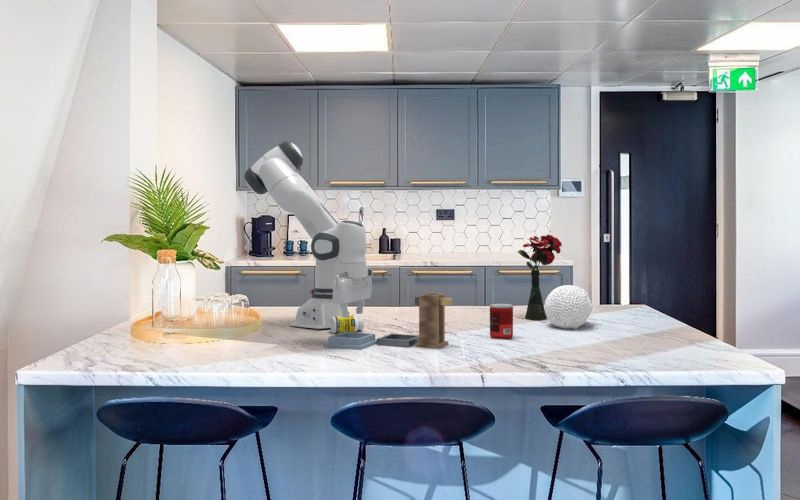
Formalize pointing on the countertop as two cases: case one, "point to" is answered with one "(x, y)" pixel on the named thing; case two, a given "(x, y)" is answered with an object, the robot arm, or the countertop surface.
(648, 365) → the countertop surface
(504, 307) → the canned food
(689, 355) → the countertop surface
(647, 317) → the countertop surface
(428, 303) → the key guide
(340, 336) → the tray
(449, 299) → the bar
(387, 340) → the socket
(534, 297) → the carnation
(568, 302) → the white textured ball
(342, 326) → the pill bottle
